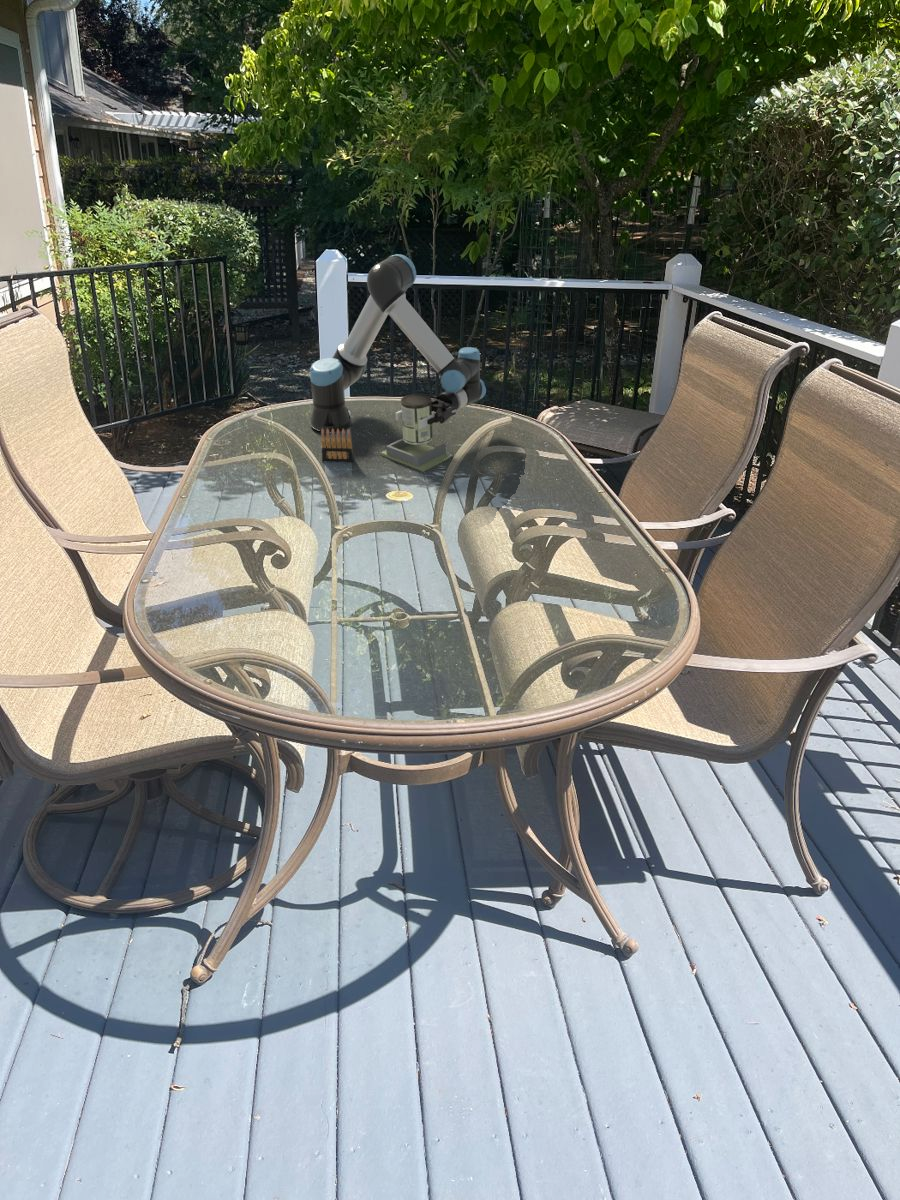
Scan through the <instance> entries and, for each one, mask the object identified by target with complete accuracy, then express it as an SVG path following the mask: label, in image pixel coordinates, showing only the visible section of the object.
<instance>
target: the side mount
mask: <svg viewBox="0 0 900 1200" xmlns="http://www.w3.org/2000/svg"><path fill="white" fill-rule="evenodd" d="M446 452H447V444H446V443H442V444H440V445H438V446H436V447H434V446H431V445H429V444H427V443H426V444H422V445H413V444H408V443H406V442H404V440H403V437H402V438H400V439H398V440H396V441H394V442H392V443H390V444H388V445H386V446H385V450H383V451H381V452H379V453H380V454H379V455H380V456H382V457H384V458H386V459H389V460H391V461H394V462H397V463H399V464H402V465H404V466H407V467H410V468H412V469H415V470H417V471H420V472H423V473H424V472H426V471H428V470H430V469H431V468H434V467H435V466H437V465H439V463H440V464H441V463H443V462H444V461H443V460H444V459H446V458H447V457H448V456H449V455H447V453H446ZM442 461H443V462H442Z"/></svg>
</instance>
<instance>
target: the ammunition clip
mask: <svg viewBox="0 0 900 1200" xmlns="http://www.w3.org/2000/svg"><path fill="white" fill-rule="evenodd" d="M350 430H351V429H350V428H348V429H346V430H344V429H342V431H341V432H340V431H339V429H337V432H336V433H335V432H334V429H333V428H332V433H330V432H329V429H328V428H327V431H326V433H324V429H323V428H322V430H321V432H320V435H321V436H320V437H321V439H320V440H321V441H320V442H321V460H322V462H323V461H326V462H325V463H354V461H355V458H354V456H355V455H354V450H353V440H352V435H351V431H350ZM345 431H347V432H345ZM346 433H347V434H346Z"/></svg>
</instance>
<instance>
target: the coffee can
mask: <svg viewBox="0 0 900 1200" xmlns="http://www.w3.org/2000/svg"><path fill="white" fill-rule="evenodd" d="M432 400H433V399H432V397H431V396H429V395H428V394H427V395H426V394H421V393H414V394H413V393H411V394H408V395H405V396H403V397H401V398H400V404H401V405H400V406H401V410H402V419H401V423H402V424H401V425H402V438H403V440H404V442H406V443H408V444H413V445H422V444H426V445H427V444H428V443H431V442H432V441H433V424H430V425H428V426H426V427H424V428H421V429H420V428H419V420H421V419H423V418H426V417H428V416H430V415H433V414H432V412H433V411H432V410H431V402H432Z"/></svg>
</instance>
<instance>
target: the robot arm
mask: <svg viewBox="0 0 900 1200" xmlns="http://www.w3.org/2000/svg"><path fill="white" fill-rule="evenodd" d="M366 278H367V279H366V285H367V290H368V293H369V294H370V295H369V297H368V298H367V300H366V302H365V304H364V306H363V308H362V310H361V312H360V313H359V315H358V318H357V319H356V321H355V323H354V325H353V327H352V329H351V331H350V333H349V335H348V337H347V339H346V341H345V342H343V343H340V344H339V345H338V347H337V349H336V351H335V353H334V354H333V356H332V357H327V358H326V357H324V358H322V359H318V360H316V361H314V362H313V363H312V364H311V366H310V369H309V380H310V388H311V394H312V395H311V396H312V406H313V407H312V411H311V416H310V420H309V424H310V423H311V425H312V426H313V427H314V428H316V429H318V430H320V431H321V430H322V428H323V429H324V432H326V431H327V428H328V429H329V432H331V433H332V428H333V429H334V432H335V434H337V429H339V431H340V433H342V429H344V431H347V430H348V429H350V428H351V427H352V417H351V415H350V412H349V410H348V407H347V405H346V397H345V390H347V389H348V388H349V387H350V386H352V385H353V384H354V383H356V382H358V381H359V380H361V378H362V377H363V375H364V374H365V372H366V367H367V366H366V365H367V363H368V357H367V354H368V353H369V350H370V349H371V347H372V344H373V343H374V341H375V339H376V337H377V335H378V334H379V332H380V330H381V328H382V326H383V324H384V323H385V321H386V319H387V317H388V316H389V317H390V318H391V319H392V320H393V321H394V323H395V324H396V325H397V326H398V328H399V329H400V330H401V331H402V332H403V333H404V334H405V336H406V337H407V338H408V339H409V341H410V342H412V344H413V346H415V348H416V349H417V350H418V351H419V353H420V354H421V355H422V356H423V357H424V358H425V359H426V360H427V362H428V363H429V364H430V366H431V367H433V369H434V370H435V371H436V372H437V374H438V376H440V384H441V387H442V389H443V390H444V391H443V392H441V393H440V394H439V395H438V396H437V397H436V399H432V402H431V410H432V412H435V413H434V414H432V415H430V416H428V417H426V418H423V419H421V420H419V428H420V429H421V428H424V427H426V426H428V425H430V424H432V425H433V424H434V423H435V424H436V423H439V424H441V425H443V424H444V423H445V422H446V421H448V420H449V419H451V417H452V416H454V415H456V414H457V413H456V412H457V411H458V410H460V409H462V408H465V407H467V406H470V405H471V404H473V403H476V402H478V401H480V400H481V399H482V398H484V397H485V395H486V392H487V388H486V385H485V383H484V381H483V380H482V379H481V378H480V377H481V376H480V375H481V355H480V349H478V348H476V347H471V346H469V347H468V346H467V347H462V348H460V349H459V350H458V353H457V354H458V356H457V359H458V360H457V359H456V358H455V357H454V356H453V355H452V353H451V352H450V351H449V350H448V348H447V347H446V346H445V345H444V344H443V343H442V341H441V340H440V339H439V338H438V336H437V335H436V334H435V332H433V330H432V329H431V328H430V327H429V326H428V324H427V323H426V322H425V321H424V319H423V318H422V317H421V316H420V314H419V313H418V312H417V310H416V309H415V308H414V307H413V306H412V305H411V303H410V302H409V301H408V300H407V298H406V297H407V296H406V295H407V294H406V292H407V290H408V289H409V288H411V287H412V286H413V284H414V283H415V282H416V278H417V270H416V267H415V265H414V262H413V261H412V260H411V259H410V258H409V257H407V256H406V255H404V254H401V253H400V254H398V253H396V254H393V255H390V256H387V258H386V259H384V260H382V261H380V262H378V263H376V264H375V265H374V266H372V267H371V268H370V270H369V272H368V274H367V277H366ZM400 420H402V409H400V410H398V411H396V412H395V421H396V422H398V421H400ZM311 425H310V426H311ZM331 433H330V434H331Z"/></svg>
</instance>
